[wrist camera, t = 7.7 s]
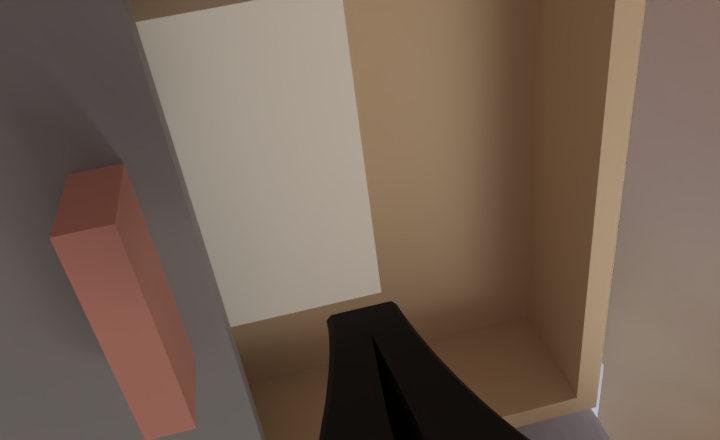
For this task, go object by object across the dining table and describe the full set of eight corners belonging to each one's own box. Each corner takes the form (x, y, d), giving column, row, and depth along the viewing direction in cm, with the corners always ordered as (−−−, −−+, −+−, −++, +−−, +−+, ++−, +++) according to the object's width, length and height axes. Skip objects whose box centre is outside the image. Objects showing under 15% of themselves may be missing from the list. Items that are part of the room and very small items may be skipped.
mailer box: (538, 317, 29) (596, 407, 25) (110, 420, 27) (97, 536, 23) (567, -352, 16) (693, -390, 12) (-227, -245, 15) (-386, -248, 10)
